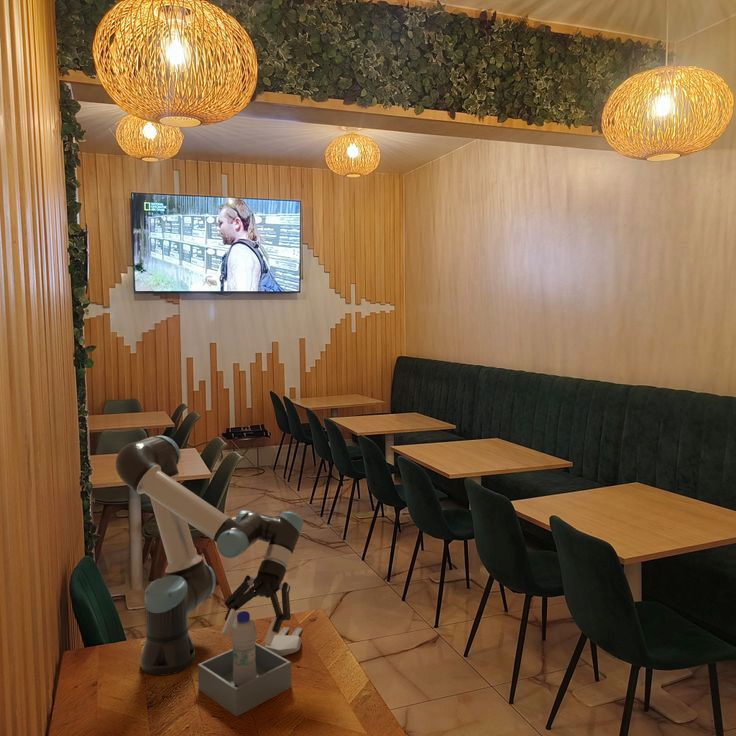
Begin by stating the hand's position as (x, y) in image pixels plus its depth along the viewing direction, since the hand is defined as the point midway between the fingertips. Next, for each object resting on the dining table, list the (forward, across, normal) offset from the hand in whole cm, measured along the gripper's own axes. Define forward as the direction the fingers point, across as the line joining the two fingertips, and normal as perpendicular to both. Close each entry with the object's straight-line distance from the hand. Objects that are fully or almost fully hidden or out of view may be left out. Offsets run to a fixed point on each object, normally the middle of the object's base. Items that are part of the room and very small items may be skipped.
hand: (245, 639), depth 170 cm
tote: (+10, +1, -10) cm, 14 cm away
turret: (-7, +3, -28) cm, 29 cm away
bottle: (+9, +1, -9) cm, 13 cm away
